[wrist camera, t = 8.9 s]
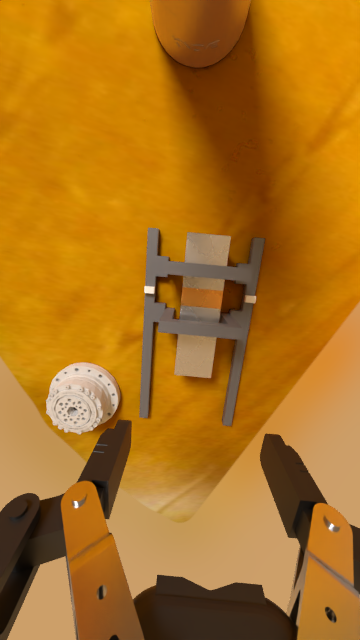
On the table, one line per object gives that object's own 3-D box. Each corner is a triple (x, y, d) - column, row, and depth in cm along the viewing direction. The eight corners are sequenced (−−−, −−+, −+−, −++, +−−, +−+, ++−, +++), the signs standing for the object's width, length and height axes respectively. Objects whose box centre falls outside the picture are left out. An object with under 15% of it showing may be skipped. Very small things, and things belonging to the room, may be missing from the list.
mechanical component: (98, 430, 33) (134, 388, 31) (84, 455, 28) (125, 407, 26) (43, 395, 31) (77, 348, 29) (21, 415, 27) (59, 362, 25)
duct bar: (187, 238, 25) (187, 232, 21) (223, 241, 25) (231, 236, 21) (176, 358, 29) (174, 374, 25) (207, 361, 29) (210, 378, 25)
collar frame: (149, 229, 25) (136, 215, 18) (262, 239, 25) (289, 229, 18) (140, 412, 31) (128, 451, 25) (229, 421, 31) (241, 462, 25)
